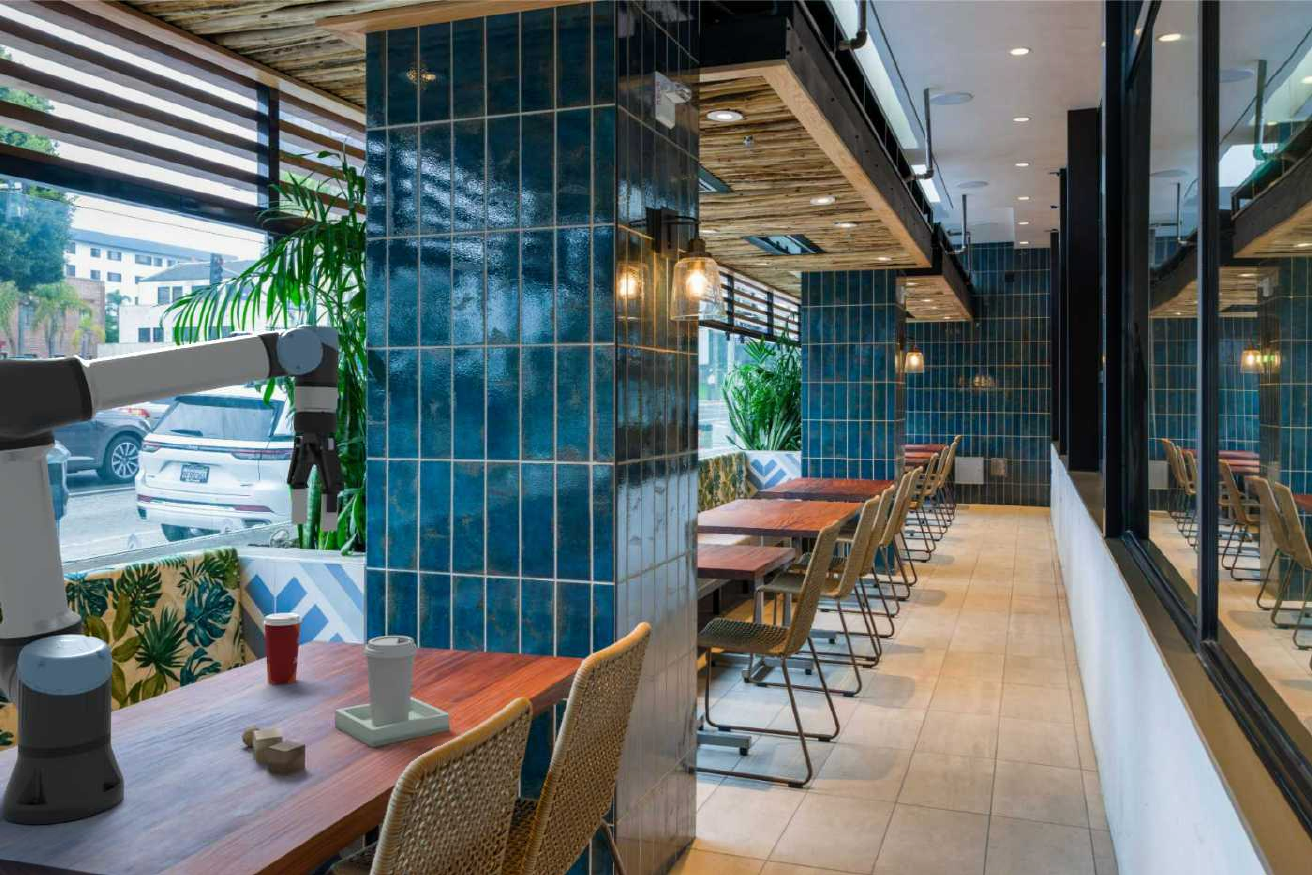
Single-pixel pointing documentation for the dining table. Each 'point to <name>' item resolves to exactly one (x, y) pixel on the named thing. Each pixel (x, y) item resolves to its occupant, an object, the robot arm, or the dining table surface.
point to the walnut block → (286, 758)
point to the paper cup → (282, 646)
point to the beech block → (265, 743)
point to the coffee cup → (390, 678)
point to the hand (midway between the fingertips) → (313, 527)
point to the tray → (419, 724)
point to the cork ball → (249, 736)
